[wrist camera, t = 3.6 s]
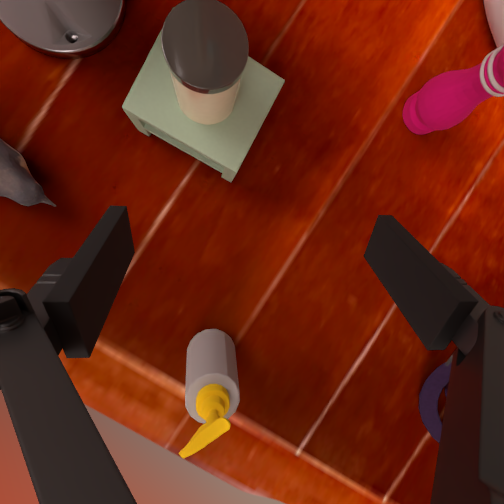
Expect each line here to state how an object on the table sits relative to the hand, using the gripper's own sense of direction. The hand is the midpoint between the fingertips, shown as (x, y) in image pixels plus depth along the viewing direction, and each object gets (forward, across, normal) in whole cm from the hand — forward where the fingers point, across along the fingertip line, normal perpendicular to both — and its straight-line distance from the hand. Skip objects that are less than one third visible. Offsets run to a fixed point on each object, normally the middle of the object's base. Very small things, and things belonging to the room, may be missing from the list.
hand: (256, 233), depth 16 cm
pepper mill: (+34, +28, +2) cm, 44 cm away
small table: (+31, -4, 0) cm, 31 cm away
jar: (+24, -4, +4) cm, 24 cm away
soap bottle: (+15, -3, -29) cm, 33 cm away
